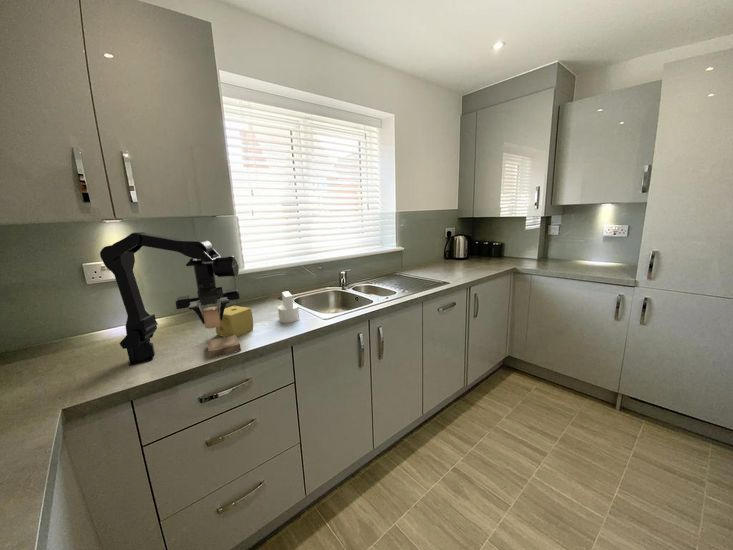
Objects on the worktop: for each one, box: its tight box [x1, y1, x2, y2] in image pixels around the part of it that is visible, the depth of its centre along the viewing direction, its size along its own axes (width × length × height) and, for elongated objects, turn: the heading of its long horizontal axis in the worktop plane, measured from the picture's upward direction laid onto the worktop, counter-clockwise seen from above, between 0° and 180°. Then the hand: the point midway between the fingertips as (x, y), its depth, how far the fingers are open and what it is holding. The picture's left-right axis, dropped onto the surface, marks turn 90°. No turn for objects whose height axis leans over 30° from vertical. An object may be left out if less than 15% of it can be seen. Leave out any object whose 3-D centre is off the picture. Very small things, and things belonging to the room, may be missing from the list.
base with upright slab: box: [277, 290, 300, 324], centre depth 134 cm, size 9×9×12 cm
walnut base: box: [206, 335, 242, 359], centre depth 107 cm, size 10×10×3 cm
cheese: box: [215, 305, 254, 338], centre depth 121 cm, size 10×11×10 cm
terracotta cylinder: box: [201, 306, 221, 329], centre depth 101 cm, size 5×5×6 cm
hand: (212, 322), depth 102 cm, fingers closed on terracotta cylinder, 5 cm apart
